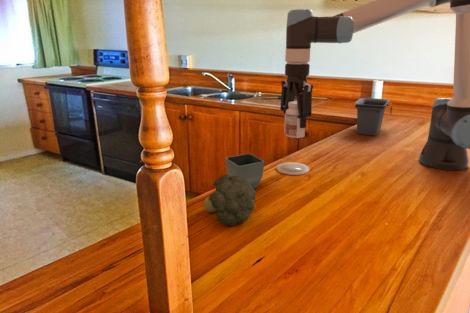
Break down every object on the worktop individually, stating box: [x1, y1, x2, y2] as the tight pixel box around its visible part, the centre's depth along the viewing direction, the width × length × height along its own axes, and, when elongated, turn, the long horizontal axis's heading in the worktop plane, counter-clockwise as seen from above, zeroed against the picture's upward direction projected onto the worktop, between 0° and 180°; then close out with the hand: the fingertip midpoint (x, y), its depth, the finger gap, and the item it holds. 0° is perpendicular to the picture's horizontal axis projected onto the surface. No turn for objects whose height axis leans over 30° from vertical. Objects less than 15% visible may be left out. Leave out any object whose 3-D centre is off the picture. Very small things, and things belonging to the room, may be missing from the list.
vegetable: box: [203, 174, 257, 227], centre depth 92 cm, size 12×13×15 cm
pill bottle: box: [284, 100, 303, 139], centre depth 121 cm, size 6×6×11 cm
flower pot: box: [225, 153, 265, 190], centre depth 111 cm, size 9×9×9 cm
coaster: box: [276, 162, 310, 176], centre depth 127 cm, size 11×11×1 cm
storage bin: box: [354, 97, 393, 136], centre depth 173 cm, size 21×16×14 cm
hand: (294, 134), depth 123 cm, fingers closed on pill bottle, 6 cm apart
